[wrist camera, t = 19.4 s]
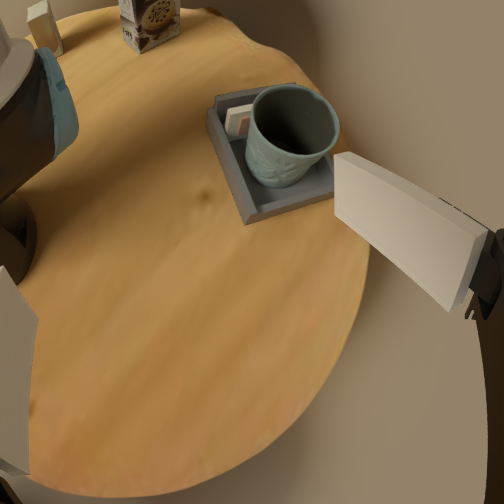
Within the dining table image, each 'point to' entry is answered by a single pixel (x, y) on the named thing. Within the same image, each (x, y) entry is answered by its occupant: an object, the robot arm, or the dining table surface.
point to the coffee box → (149, 22)
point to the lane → (244, 186)
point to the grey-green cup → (288, 134)
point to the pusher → (237, 122)
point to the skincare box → (44, 27)
